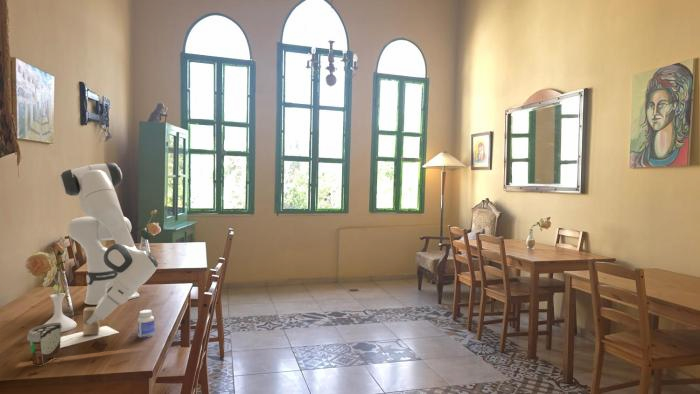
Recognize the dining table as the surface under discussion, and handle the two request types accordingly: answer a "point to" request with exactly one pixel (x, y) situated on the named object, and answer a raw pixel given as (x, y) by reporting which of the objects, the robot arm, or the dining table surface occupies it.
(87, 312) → the sanding block
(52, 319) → the flower in vase
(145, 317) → the pill bottle
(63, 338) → the board
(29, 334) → the food container
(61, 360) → the dining table surface
